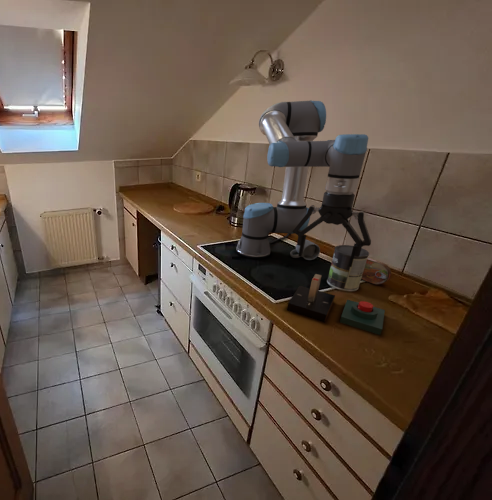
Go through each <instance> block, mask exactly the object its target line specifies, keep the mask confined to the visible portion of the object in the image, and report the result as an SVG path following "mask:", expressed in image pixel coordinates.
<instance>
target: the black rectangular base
mask: <svg viewBox="0 0 492 500" xmlns="http://www.w3.org/2000/svg"><path fill="white" fill-rule="evenodd" d="M309 291H310V287H306V286H302V285H299V286H298V287H297V289H296V290H295V292H294V293H293V295H292V296H291V298H290V299H289V300H288V303H287V307H286V311H288V312H291V313H294V314H297V315H300V316H303V317H306V318H309V319H312V320H315V321H318V322H321V323H326V321H327V319H328V316H329V314H330V312H331V309H332V307H333V304H334V301H335V297H336V295H335V294H332V293H329V292H324V291H321V290H318V294H317V297H316V299H315V301H314V303H312V302H308V301H307V300H308V296H309Z"/></svg>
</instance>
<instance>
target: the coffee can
mask: <svg viewBox="0 0 492 500" xmlns="http://www.w3.org/2000/svg"><path fill="white" fill-rule="evenodd" d="M353 247H354V245H349V244H341V245H336V246H335V247H334V251H333V255H332V258H331V259H332V260H331V264H330V268H329V272H328V275H327V279H326V283H327V284H328V285H329V286H330V287H331V288H334V289H337V290H340V291H343V292H356V291H357V290H359V288H360V284H361V281H362V279H361V278H362V274H363V271H364V268H365V264H366V261H367V258H369V255H370V252H369V251H368V250H366V248H363V247H362V248H361V252H360V255H359V256H354V259H353V263H352V267H348V266H349V262H350V258H351V254H352V250H353Z"/></svg>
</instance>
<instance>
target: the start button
mask: <svg viewBox="0 0 492 500" xmlns="http://www.w3.org/2000/svg"><path fill="white" fill-rule="evenodd" d="M358 303H359V304H358V309H359V310H361V311H364V312H372V309H373V307H374V304H372V303H371V302H369V301H364V300H362V301H359V302H358Z"/></svg>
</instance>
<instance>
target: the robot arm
mask: <svg viewBox="0 0 492 500" xmlns="http://www.w3.org/2000/svg"><path fill="white" fill-rule="evenodd" d="M326 120H327V109H326V106H325V103H324V102H323V101H321V100H312V99H310V100H298V101H297V100H295V101H281V102H277V103H274V104H272V105H270V106H269V107H268V108H266V109H265V110H264V111H263V112H262V113H261V115H260V117H259V119H258V127H259V130H260V133H262V134H263V136H265V137H266V139H267V142H268V144H269V146H268V149H267V156H266V157H267V158H266V160H267V164H268V166H269V167H274V168H275V167H277V168H285V171H284V178H283V187H282V193H281V199H280V200H279V201H277V203H276V206H274V205H273V204H272V203H270V202H255V203H251V204H248V205H247V206H246V207H245V208H244V213H243V215H242V217H243V221H242V222H243V223H242V230H241V231H242V232H241V237H240V239H239V240H238V241H237V245H236V248H235V252H236V253H237V254H238V255H239V256H241V257H244V258H248V259H255V260H256V259H257V260H261V259H265V258H269V257H270V255H271V246H270V245H271V244H274V243H276V242H278V241H281V240H284V239H287V238H289V236H291V235H297V241H296V245H299V246H300V250H299V253H298V254H299V255H298V256H300V257H299V258H302V257H301V256H302V254H303V250H304V245H305V240H307V235H306V234H308V233H309V232H310V231H311V230H313V229H314V228H315V227H317V226H319V225H321V223H323V222H324V223H325V224H330V225H331V224H333V225H336V226H339V225H342V227H343V228H344V229H345V230H346V232H347V233H348V234H349V236H350V238H351V239H352V240H353V242H354V243H353V246H354V247H353V250H352V254H351V258H350V262H349V266H348V267H352V263H353V259H354V256H359V255H360V252H361V248H363V247H365V246H367V247H369V246H371V245H372V239H371V237H370V234H369V230H368V228H367V225H366V224H367V223H366V221H365V211H364V210H359V211H354V210H353V205H354V201H355V198H356V194H355V193H356V192H357V190H358V185H359V181H360V175H361V172H362V168H363V165H364V161H365V158H366V154H367V151H368V143H369V136H368V135H367V134H365V133H364V134H363V133H361V134H360V133H350V134H349V133H345V134H338V135H337V136H336V137H335V139H328V140H316V138H318V137H319V136H318V134H319V133H321V132H323V130H324V129H325V126H326V122H327V121H326ZM309 167H310V168H311V167H312V168H313V167H314V168H315V167H317V168H319V167H320V168H321V167H322V168H323V167H324V168H325V167H327V168H329V169H328V172H327V178H326V182H325V186H324V190H325V192H323V197H322V201H321V202H322V203H321V205H320V207H318V206H315V205H313V204H311V205H310V206H309V207H307V202H305V200H304V198H305V192H306V185H307V179H308V172H309ZM316 212H318V214H319V215H320V217H317V219H316V220H314V221H313V222H312V223H310V219H311V216H312V215H315V214H316ZM352 216H353V217H354V220H357V223H358V227H359V229H360V232H361V236H362V238H363V240H362V238H361V236H360V235H359V234H358V232H357V231H356V230H355V228H354V226H353V225H352V224H351V222H350V220H349V219H350V218H352ZM269 234H286V235H284V236H283V237H282V236H281V237H279V238H276V239H273V240H271V241H269V236H270V235H269Z"/></svg>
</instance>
